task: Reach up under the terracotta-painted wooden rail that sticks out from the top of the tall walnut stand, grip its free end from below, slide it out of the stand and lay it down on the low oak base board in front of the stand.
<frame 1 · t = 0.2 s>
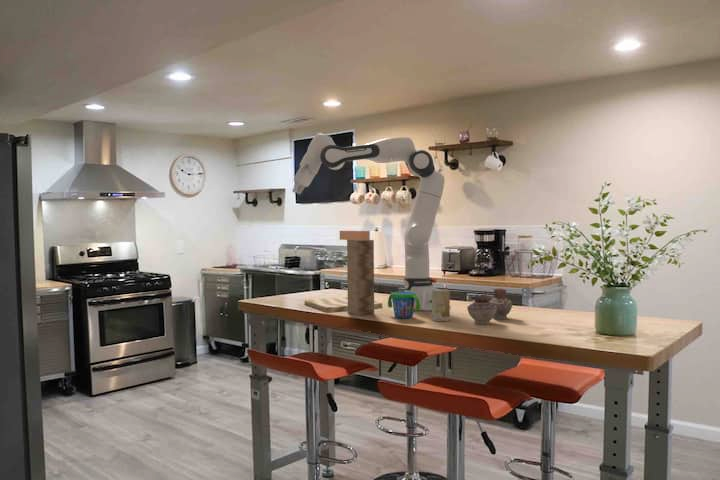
hand: (296, 193, 258), 54 cm above the kitchen island, tool tilted 25°, fingers open, 8 cm apart
skincare box: (440, 320, 223), on the kitchen island
walnut stand: (360, 313, 243), on the kitchen island
pottery: (490, 321, 222), on the kitchen island
terracotta rail: (354, 240, 243), point 32 cm above the kitchen island, touching walnut stand
oak base board: (342, 305, 266), on the kitchen island
snack cup: (403, 317, 232), on the kitchen island
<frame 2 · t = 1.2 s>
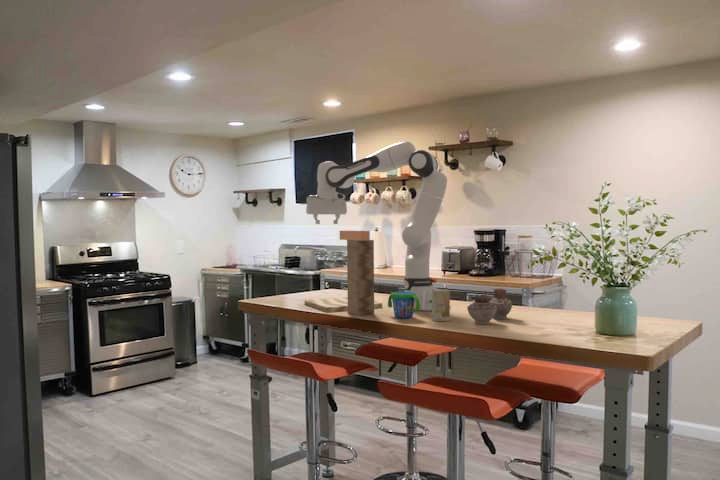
hand: (326, 224, 270), 39 cm above the kitchen island, tool pointing down, fingers open, 8 cm apart
nothing on the kitchen island moved.
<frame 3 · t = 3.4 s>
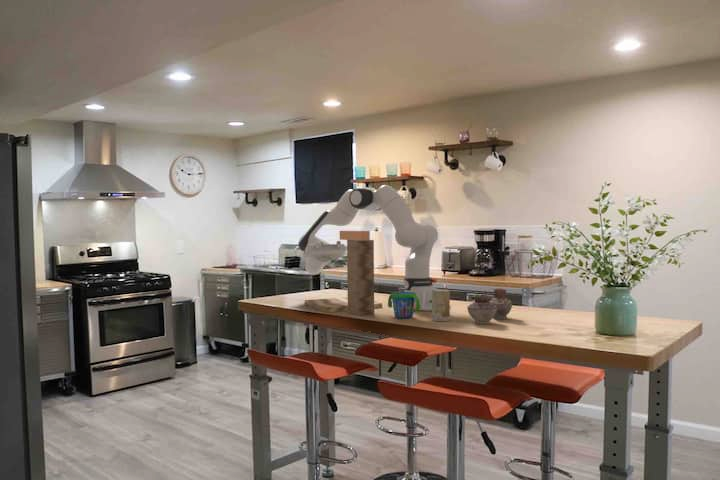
hand: (330, 242, 267), 30 cm above the kitchen island, tool pointing upward, fingers open, 8 cm apart
nothing on the kitchen island moved.
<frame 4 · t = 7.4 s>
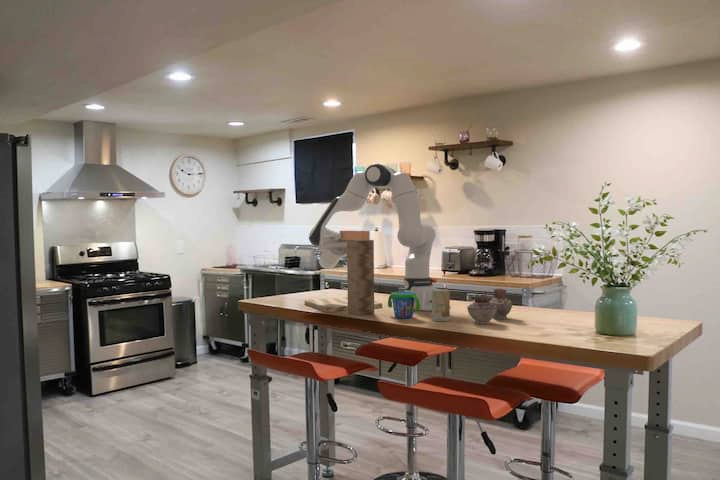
hand: (347, 234, 250), 34 cm above the kitchen island, tool pointing upward, fingers closed on terracotta rail, 4 cm apart
terracotta rail: (354, 240, 243), point 32 cm above the kitchen island, touching gripper, walnut stand
everything else where it was.
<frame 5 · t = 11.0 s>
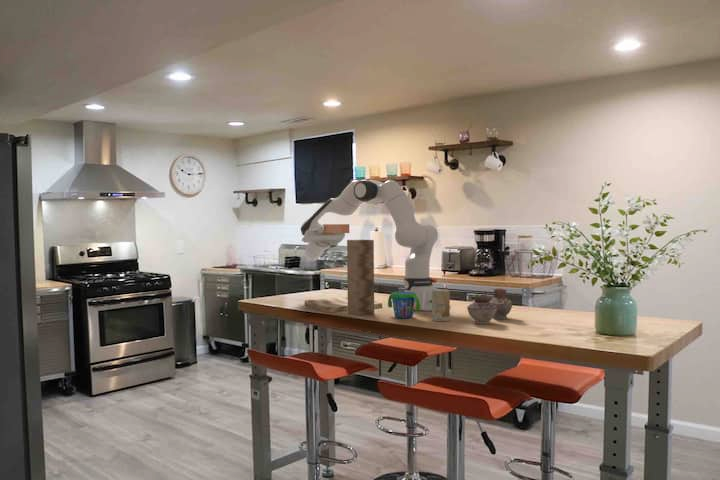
hand: (329, 227, 268), 37 cm above the kitchen island, tool pointing upward, fingers closed on terracotta rail, 4 cm apart
terracotta rail: (335, 232, 261), point 35 cm above the kitchen island, touching gripper
everything else where it was.
when the fingers open (22 cm above the kitchen island, at t = 14.7 s): terracotta rail drops 18 cm, resting on oak base board.
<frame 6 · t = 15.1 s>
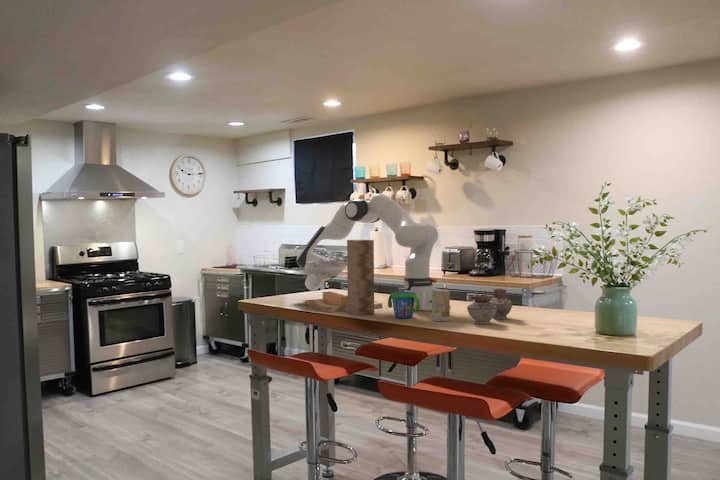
hand: (329, 259, 268), 22 cm above the kitchen island, tool pointing upward, fingers open, 8 cm apart
terracotta rail: (335, 302, 263), point 2 cm above the kitchen island, touching oak base board
everything else where it was.
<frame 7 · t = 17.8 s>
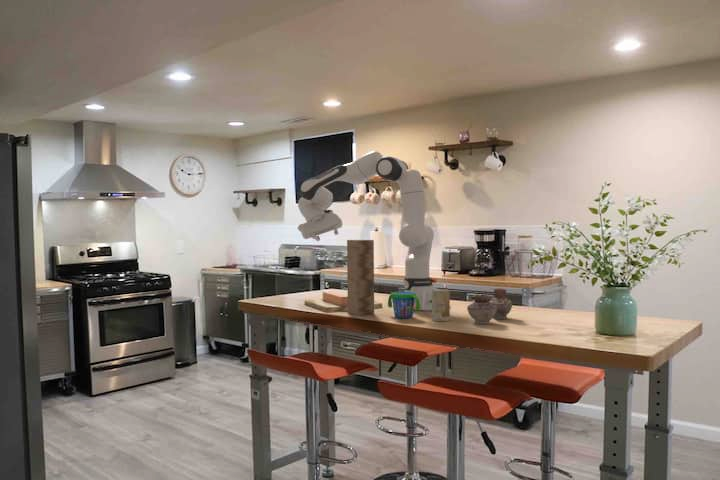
hand: (327, 236, 262), 33 cm above the kitchen island, tool tilted 55°, fingers open, 8 cm apart
nothing on the kitchen island moved.
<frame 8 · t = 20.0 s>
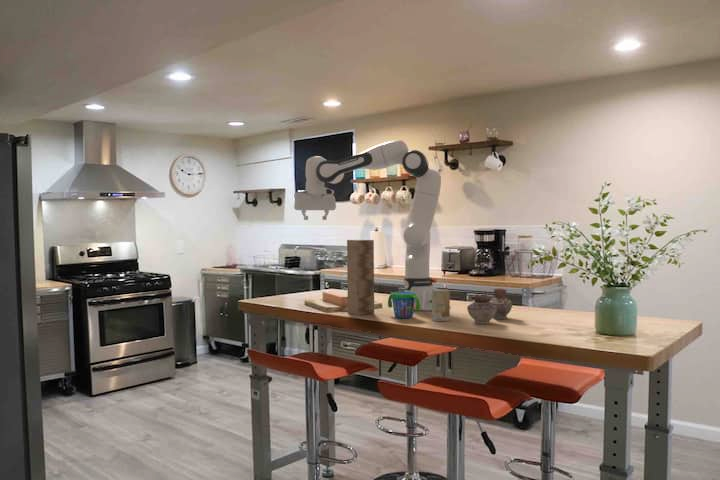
hand: (315, 220, 265), 41 cm above the kitchen island, tool pointing down, fingers open, 8 cm apart
nothing on the kitchen island moved.
at the end: terracotta rail inside the target area (4.3 cm from its centre), point 2.0 cm above the kitchen island; terracotta rail moved 36.5 cm from its start; the gripper is holding nothing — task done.
